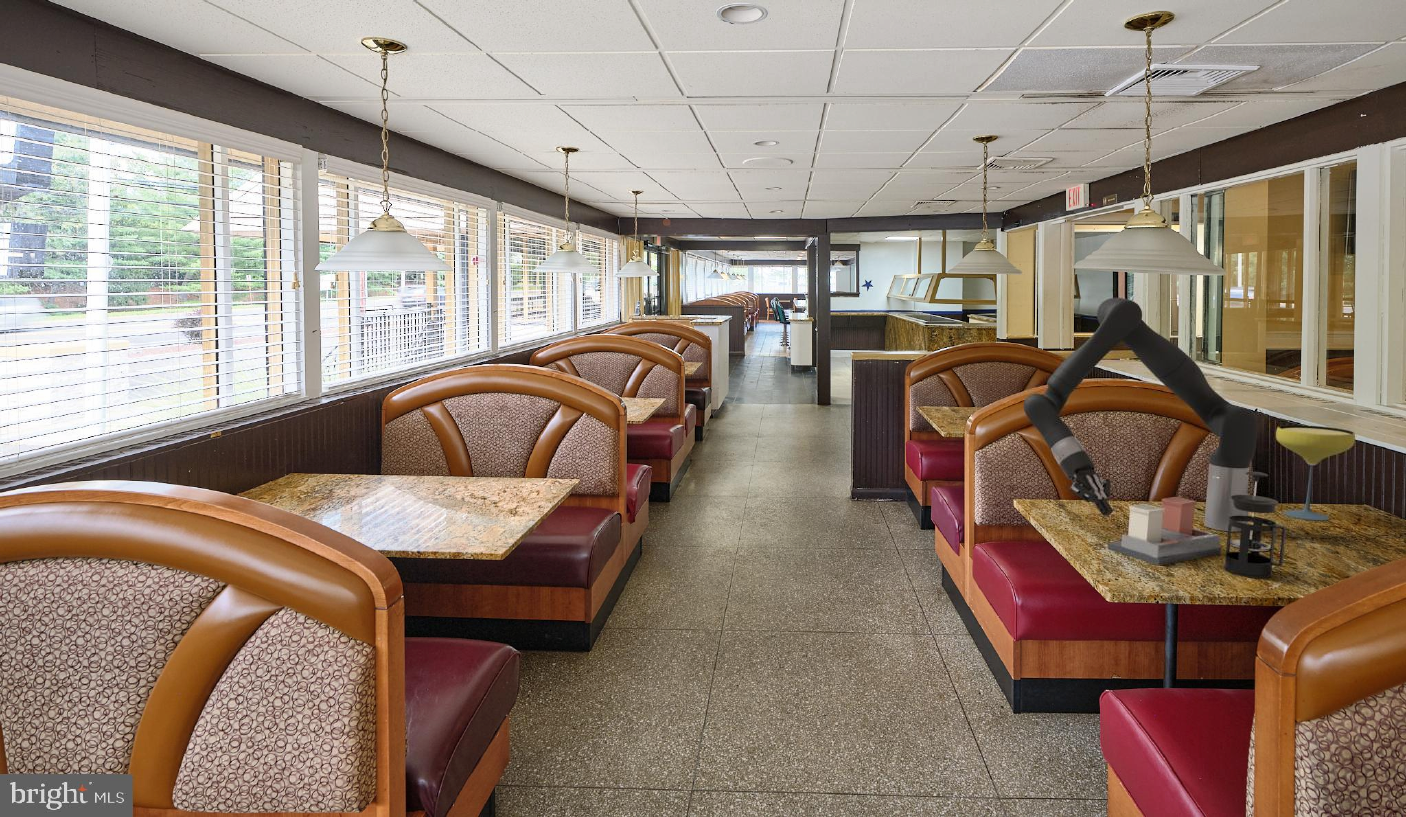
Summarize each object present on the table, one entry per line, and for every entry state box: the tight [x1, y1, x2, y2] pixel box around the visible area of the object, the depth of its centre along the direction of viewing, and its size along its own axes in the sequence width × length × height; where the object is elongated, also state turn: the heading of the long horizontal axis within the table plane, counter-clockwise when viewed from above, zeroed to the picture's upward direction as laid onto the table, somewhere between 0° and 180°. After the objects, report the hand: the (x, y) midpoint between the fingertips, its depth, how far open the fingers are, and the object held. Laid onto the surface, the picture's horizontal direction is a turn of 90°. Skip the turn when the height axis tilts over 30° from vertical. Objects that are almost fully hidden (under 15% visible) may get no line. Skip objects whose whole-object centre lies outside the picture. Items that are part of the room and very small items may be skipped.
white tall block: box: [1127, 503, 1165, 544], centre depth 204 cm, size 5×5×10 cm
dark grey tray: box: [1107, 527, 1222, 566], centre depth 207 cm, size 14×22×4 cm, turn 115°
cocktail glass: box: [1275, 424, 1356, 522], centre depth 240 cm, size 18×18×25 cm
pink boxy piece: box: [1161, 496, 1197, 536], centre depth 211 cm, size 5×5×10 cm
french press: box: [1223, 471, 1287, 579], centre depth 190 cm, size 12×9×23 cm
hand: (1108, 514), depth 213 cm, fingers closed
